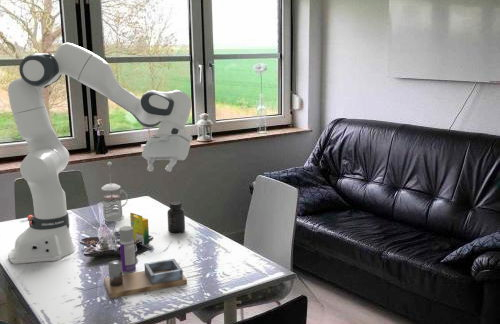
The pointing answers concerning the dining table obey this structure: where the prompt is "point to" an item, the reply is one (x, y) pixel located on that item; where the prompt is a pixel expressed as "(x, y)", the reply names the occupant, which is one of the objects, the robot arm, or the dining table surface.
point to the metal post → (115, 273)
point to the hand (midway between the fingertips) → (158, 170)
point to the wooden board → (149, 279)
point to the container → (127, 249)
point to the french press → (112, 213)
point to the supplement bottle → (176, 218)
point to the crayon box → (140, 228)
